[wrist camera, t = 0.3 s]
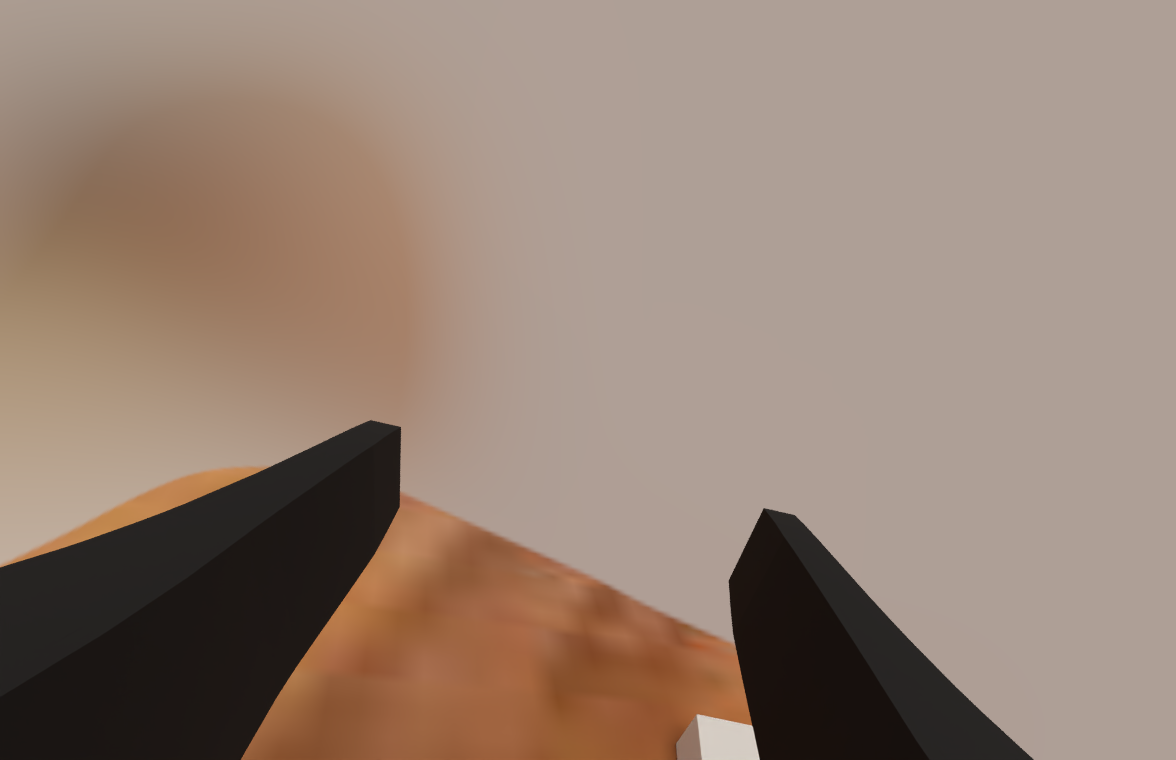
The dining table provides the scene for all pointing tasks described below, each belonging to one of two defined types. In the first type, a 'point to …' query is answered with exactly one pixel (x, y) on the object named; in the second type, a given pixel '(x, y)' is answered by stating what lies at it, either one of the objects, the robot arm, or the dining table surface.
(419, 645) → the dining table surface
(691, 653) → the dining table surface
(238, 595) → the robot arm
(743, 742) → the power strip
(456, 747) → the dining table surface
